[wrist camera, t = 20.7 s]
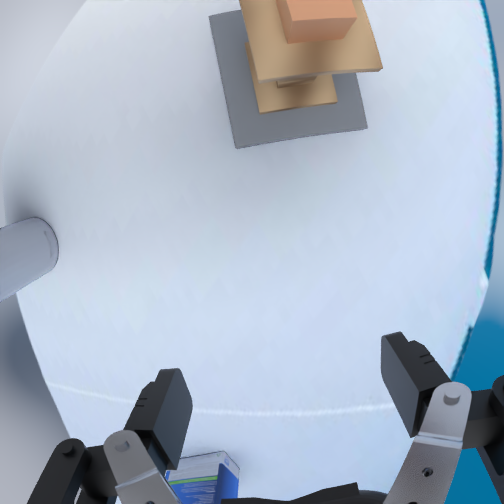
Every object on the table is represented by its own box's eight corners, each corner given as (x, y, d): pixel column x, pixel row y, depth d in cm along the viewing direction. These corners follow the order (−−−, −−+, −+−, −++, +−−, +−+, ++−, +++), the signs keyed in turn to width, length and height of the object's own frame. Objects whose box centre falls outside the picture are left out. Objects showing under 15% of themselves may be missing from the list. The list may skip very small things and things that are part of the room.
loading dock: (237, 149, 38) (235, 148, 36) (211, 23, 33) (208, 16, 31) (361, 129, 37) (367, 128, 34) (330, 8, 32) (334, 0, 30)
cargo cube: (287, 44, 18) (292, 21, 14) (275, -1, 17) (277, -28, 13) (342, 39, 18) (357, 17, 14) (328, -5, 17) (339, -31, 13)
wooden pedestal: (259, 114, 35) (258, 80, 19) (245, 46, 32) (234, -21, 17) (334, 103, 34) (382, 68, 18) (318, 37, 31) (350, -29, 16)
